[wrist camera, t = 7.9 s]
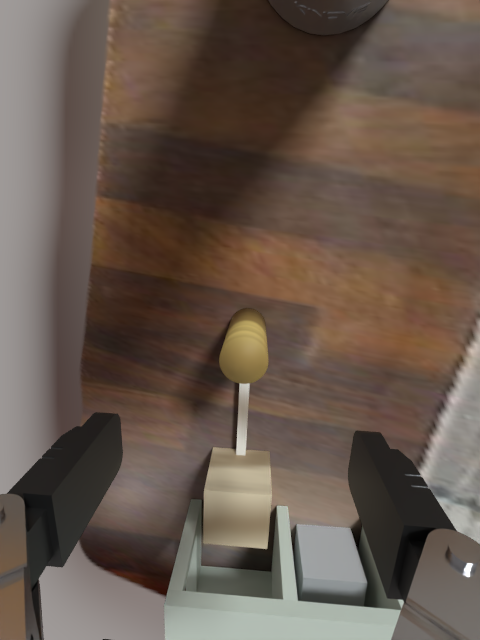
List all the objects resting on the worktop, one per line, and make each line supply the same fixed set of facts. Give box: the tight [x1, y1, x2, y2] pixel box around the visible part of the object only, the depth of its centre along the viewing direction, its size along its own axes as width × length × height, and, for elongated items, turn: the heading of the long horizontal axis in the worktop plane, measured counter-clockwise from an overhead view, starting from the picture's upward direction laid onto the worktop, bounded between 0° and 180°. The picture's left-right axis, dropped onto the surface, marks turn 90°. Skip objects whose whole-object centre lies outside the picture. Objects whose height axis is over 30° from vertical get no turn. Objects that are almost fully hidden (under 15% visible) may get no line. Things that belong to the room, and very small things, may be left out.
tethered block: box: [203, 308, 272, 549], centre depth 24 cm, size 18×5×8 cm, turn 177°
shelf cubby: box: [164, 499, 404, 640], centre depth 27 cm, size 9×17×9 cm, turn 88°
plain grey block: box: [293, 524, 367, 607], centre depth 29 cm, size 5×5×5 cm
